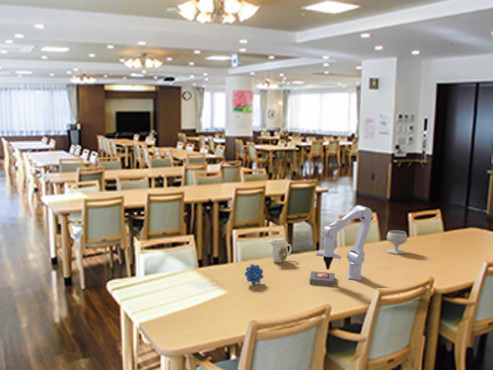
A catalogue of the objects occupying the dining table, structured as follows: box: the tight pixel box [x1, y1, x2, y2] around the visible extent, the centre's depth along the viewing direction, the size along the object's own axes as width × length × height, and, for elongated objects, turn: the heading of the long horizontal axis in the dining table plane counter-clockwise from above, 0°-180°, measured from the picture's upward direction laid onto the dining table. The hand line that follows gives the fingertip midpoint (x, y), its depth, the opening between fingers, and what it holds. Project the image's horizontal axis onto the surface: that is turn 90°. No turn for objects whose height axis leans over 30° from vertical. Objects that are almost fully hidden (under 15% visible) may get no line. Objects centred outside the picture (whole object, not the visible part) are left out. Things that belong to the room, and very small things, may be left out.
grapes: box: [244, 263, 264, 285], centre depth 273 cm, size 12×7×12 cm, turn 114°
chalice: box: [386, 229, 408, 255], centre depth 343 cm, size 14×14×15 cm
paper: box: [205, 282, 217, 298], centre depth 267 cm, size 25×17×1 cm
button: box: [317, 273, 328, 279], centre depth 281 cm, size 7×7×2 cm
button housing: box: [309, 270, 335, 287], centre depth 282 cm, size 14×14×3 cm
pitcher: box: [269, 239, 293, 263], centre depth 316 cm, size 11×18×14 cm, turn 122°
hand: (328, 268), depth 280 cm, fingers closed
